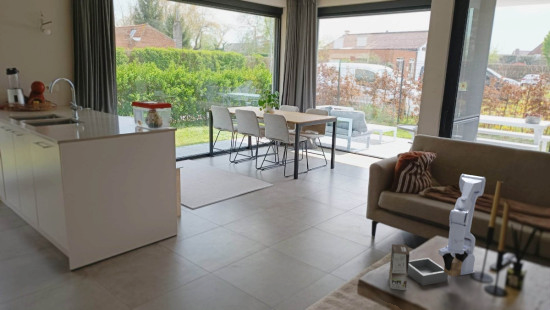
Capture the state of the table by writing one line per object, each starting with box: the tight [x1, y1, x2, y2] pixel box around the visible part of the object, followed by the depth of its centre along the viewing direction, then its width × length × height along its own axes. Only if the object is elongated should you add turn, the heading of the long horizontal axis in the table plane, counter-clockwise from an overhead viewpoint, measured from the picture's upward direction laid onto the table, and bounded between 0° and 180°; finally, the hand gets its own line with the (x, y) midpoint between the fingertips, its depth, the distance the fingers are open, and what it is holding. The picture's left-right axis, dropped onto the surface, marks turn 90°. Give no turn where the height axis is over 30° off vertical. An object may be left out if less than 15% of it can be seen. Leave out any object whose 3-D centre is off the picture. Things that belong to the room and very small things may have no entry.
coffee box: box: [388, 243, 411, 291], centre depth 166 cm, size 9×6×16 cm
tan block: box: [443, 257, 462, 277], centre depth 164 cm, size 4×4×6 cm
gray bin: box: [407, 257, 449, 286], centre depth 174 cm, size 13×13×4 cm
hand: (452, 268), depth 164 cm, fingers closed on tan block, 4 cm apart
